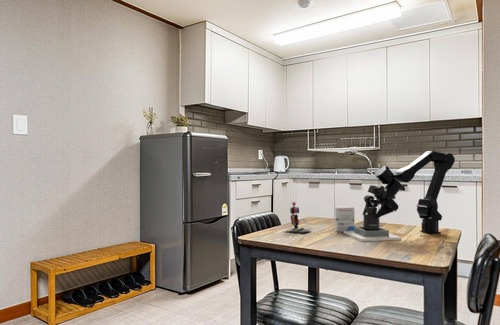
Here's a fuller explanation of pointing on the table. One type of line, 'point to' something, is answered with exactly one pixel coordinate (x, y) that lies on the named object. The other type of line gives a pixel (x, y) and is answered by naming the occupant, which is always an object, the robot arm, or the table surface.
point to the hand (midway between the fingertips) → (369, 216)
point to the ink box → (344, 219)
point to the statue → (296, 221)
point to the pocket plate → (371, 234)
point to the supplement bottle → (370, 219)
